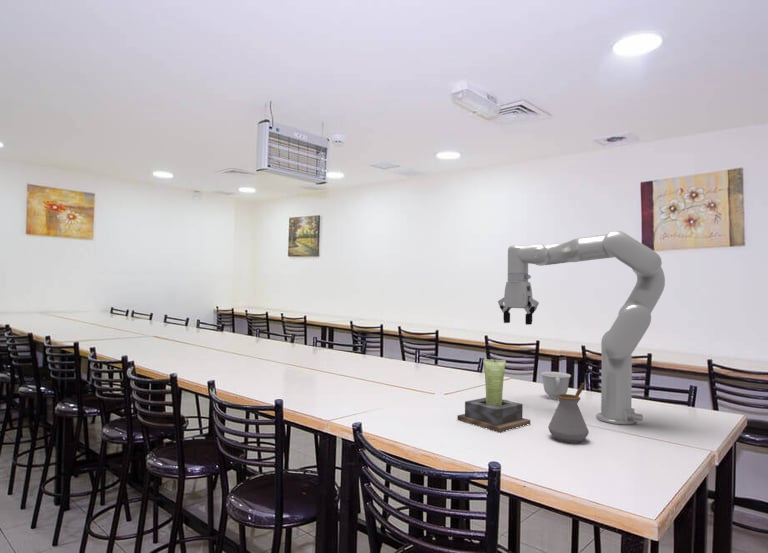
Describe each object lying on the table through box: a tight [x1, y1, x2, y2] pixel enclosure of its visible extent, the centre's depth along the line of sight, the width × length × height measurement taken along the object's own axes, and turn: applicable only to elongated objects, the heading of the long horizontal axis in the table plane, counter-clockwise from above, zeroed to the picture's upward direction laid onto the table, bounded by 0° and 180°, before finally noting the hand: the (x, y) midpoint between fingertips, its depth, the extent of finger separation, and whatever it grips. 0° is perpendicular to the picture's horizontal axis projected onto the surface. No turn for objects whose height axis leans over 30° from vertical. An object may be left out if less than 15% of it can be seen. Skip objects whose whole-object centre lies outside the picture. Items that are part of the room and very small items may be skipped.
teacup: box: [540, 371, 572, 400], centre depth 202 cm, size 12×15×10 cm
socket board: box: [456, 397, 531, 433], centre depth 164 cm, size 18×16×6 cm
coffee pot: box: [547, 382, 590, 444], centre depth 151 cm, size 21×12×15 cm, turn 141°
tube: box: [482, 358, 507, 407], centre depth 165 cm, size 6×5×20 cm
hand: (517, 323), depth 184 cm, fingers open, 9 cm apart
